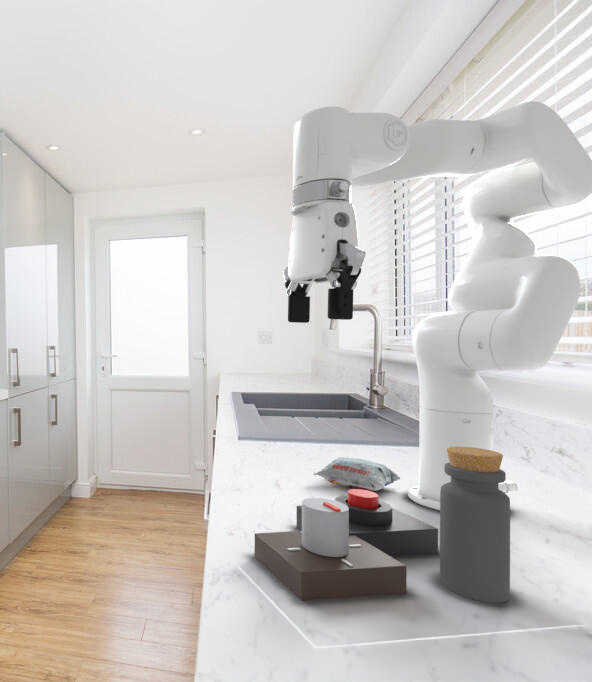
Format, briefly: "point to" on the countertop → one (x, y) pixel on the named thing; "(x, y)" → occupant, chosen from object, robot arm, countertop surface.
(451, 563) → the bottle
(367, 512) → the push button base
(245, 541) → the countertop surface
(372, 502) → the power button
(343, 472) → the packaged food
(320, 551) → the dial
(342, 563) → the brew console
